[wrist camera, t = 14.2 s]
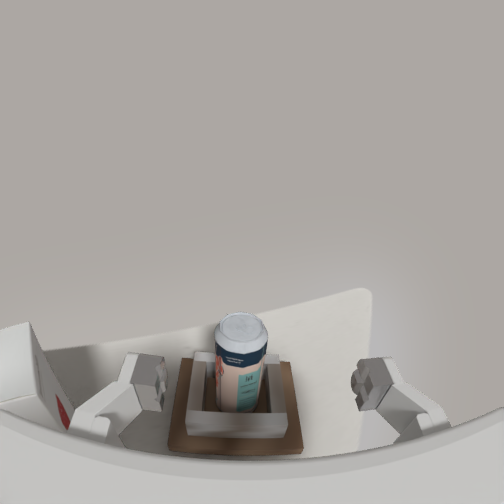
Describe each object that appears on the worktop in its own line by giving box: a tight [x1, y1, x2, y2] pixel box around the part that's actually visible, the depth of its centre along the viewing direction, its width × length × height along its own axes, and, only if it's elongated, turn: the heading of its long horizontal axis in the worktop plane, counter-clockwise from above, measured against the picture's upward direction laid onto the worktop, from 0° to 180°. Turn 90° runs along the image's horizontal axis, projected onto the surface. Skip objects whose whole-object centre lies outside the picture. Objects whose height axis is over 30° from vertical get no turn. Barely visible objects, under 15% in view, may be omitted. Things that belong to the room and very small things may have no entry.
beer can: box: [214, 312, 268, 413], centre depth 28 cm, size 5×5×12 cm
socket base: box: [168, 352, 304, 456], centre depth 31 cm, size 14×13×4 cm
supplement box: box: [0, 322, 75, 433], centre depth 18 cm, size 9×9×15 cm
